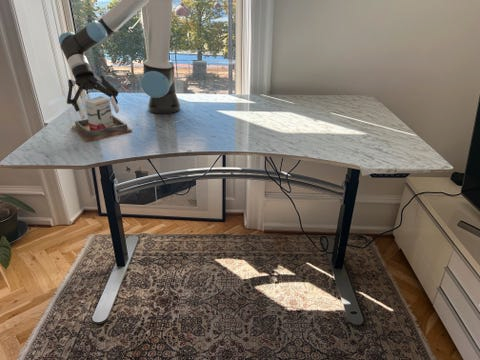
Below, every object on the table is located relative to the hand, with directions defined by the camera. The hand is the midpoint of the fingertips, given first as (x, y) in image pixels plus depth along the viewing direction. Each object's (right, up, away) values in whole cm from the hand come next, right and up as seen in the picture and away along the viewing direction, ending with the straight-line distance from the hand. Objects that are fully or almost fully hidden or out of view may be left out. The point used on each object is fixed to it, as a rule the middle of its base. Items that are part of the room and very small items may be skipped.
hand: (101, 114), depth 136 cm
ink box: (-2, -5, +5) cm, 7 cm away
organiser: (-2, -5, +5) cm, 8 cm away
